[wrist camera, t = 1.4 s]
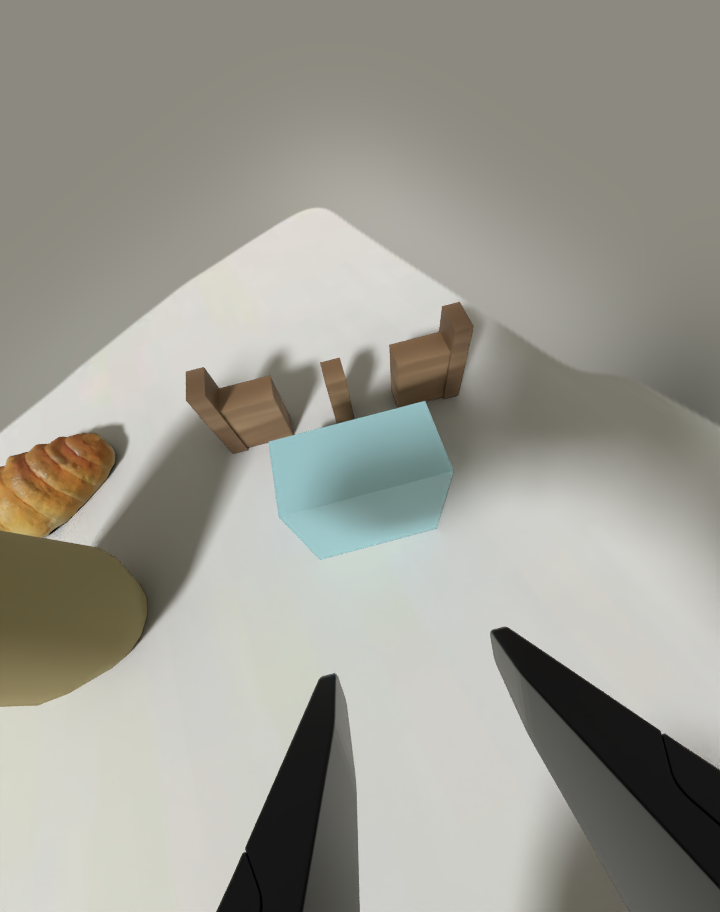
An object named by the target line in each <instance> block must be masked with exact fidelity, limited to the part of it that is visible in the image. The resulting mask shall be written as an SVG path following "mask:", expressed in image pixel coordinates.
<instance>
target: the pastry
mask: <svg viewBox="0 0 720 912" xmlns="http://www.w3.org/2000/svg"><path fill="white" fill-rule="evenodd" d="M114 464H115V452H114V450H113V449H112V447H111V446H110V445H109V444H108V443H107V442H106V441H105V440H103V438H102V437H101V436H100V435H98V434H97V433H89V434H87V433H82V434H76V435H73V436H69V437H59V438H57V439H55V440H54V441H52V442H51V443H50V444H38V445H36V446H34V447H33V448H32V449H31V450H30V451H29V452H25V453H22V454H18V455H14V456H10V457H9V458H8V459H7V462H6V465H5V466H2V467H0V531H6V532H11V533H17V534H23V535H29V536H34V537H40V538H44V537H46V536H48V535H49V533H50V532H51V531H53V530H54V529H55V528H57V527H59V526H60V525H63V524H65V523H66V522H67V521H68V520H69V519H70V518H71V517H72V516H73V515H74V514H76V513H77V511H78V509H79V508H80V507H82V506H83V505H84V504H85V503H86V502H87V501H88V500H89V498H90V497H91V496H92V495H93V494H94V493H95V492H96V491H97V490H98V489H99V487H100V486H101V485H102V484H103V483H104V482H105V480H106V479H107V477H108V475H109V472H110V470H111V468H112V467H113V465H114Z"/></svg>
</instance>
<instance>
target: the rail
mask: <svg viewBox="0 0 720 912" xmlns="http://www.w3.org/2000/svg"><path fill="white" fill-rule="evenodd" d="M473 328H474V326H473V325H472V323H471V321H470V319H469V318H468V316H467V314H466V312H465V310H464V309H463V307H462V305H461V303H460V302H457V303H453V304H449V305H446V306H442V312H441V320H440V328H439V332H438V333H434V334H430V335H426V336H422V337H418V338H414V339H410V340H407V341H403V342H399V343H395V344H391V345H389V347H390V371H391V390H392V393H393V396H394V399H395V401H396V404H397V407H398V408H400V407H404V406H407V405H411V404H415V403H419V402H423V401H425V402H426V401H430V400H433V399H437V398H441V397H443V398H444V399H446V398H449V397H453V396H457V395H458V394H459V390H460V385H461V381H462V376H463V372H464V367H465V363H466V359H467V354H468V350H469V345H470V341H471V336H472V332H473ZM320 364H321V368H322V372H323V376H324V380H325V384H326V387H327V391H328V394H329V398H330V401H331V405H332V408H333V411H334V415H335V418H336V422H337V424H338V423H342V422H346V421H350V420H354V416H353V411H352V406H351V402H350V397H349V392H348V387H347V383H346V378H345V375H344V371H343V368H342V364H341V361H340V358H336V359H332V360H329V361H325V362H321V363H320ZM186 401H187V402H188V403H189V405H190V406H191V407H192V408H193V409H194V410H195V411H196V412H197V414H198V415H199V416H200V417H201V418H202V419H203V420H204V422H205V423H206V424H207V425H208V426H209V427H210V428H211V429H212V431H213V432H214V433H215V434H216V435H217V436H218V437H219V439H220V440H221V441H222V442H223V443H224V444H225V445H226V446H227V448H228V449H229V450H230V451H231V452H232V453H233V454H235V453H238V452H242V451H246V450H248V448H249V447H253V446H257V445H261V444H265V443H268V442H269V441H273V440H277V439H281V438H285V437H288V436H292V435H293V432H292V426H291V420H290V415H289V413H288V411H287V409H286V407H285V405H284V403H283V401H282V399H281V397H280V395H279V393H278V391H277V389H276V387H275V385H274V383H273V381H272V379H271V377H270V376H266V377H262V378H258V379H255V380H251V381H247V382H243V383H239V384H235V385H231V386H227V387H223V388H218V386H217V385H216V383H215V382H214V380H213V379H212V378H211V376H210V375H209V373H208V372H207V371H206V369H205V368H204V367H202V368H199V369H195V370H191V371H187V372H186Z"/></svg>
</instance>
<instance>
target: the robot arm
mask: <svg viewBox="0 0 720 912" xmlns="http://www.w3.org/2000/svg"><path fill="white" fill-rule="evenodd" d="M490 637H491V643H492V649H493V655H494V659H495V662H496V665H497V667H498V669H499V672H500V674H501V676H502V678H503V680H504V683H505V685H506V687H507V689H508V691H509V694H510V696H511V698H512V700H513V702H514V705H515V707H516V709H517V711H518V713H519V716H520V718H521V720H522V722H523V724H524V726H525V728H526V731H527V733H528V735H529V737H530V738H531V740H532V742H533V744H534V746H535V748H536V749H537V751H538V753H539V755H540V756H541V758H542V760H543V762H544V763H545V765H546V767H547V769H548V770H549V772H550V774H551V776H552V777H553V779H554V781H555V783H556V784H557V786H558V788H559V790H560V791H561V793H562V795H563V797H564V798H565V800H566V802H567V803H568V805H569V807H570V809H571V810H572V812H573V814H574V816H575V817H576V819H577V821H578V823H579V824H580V826H581V828H582V830H583V831H584V833H585V835H586V837H587V838H588V840H589V842H590V844H591V845H592V847H593V849H594V851H595V852H596V854H597V856H598V858H599V859H600V861H601V863H602V865H603V866H604V868H605V870H606V872H607V873H608V875H609V877H610V879H611V880H612V882H613V884H614V886H615V887H616V889H617V891H618V893H619V894H620V896H621V898H622V900H623V901H624V903H625V905H626V906H627V908H628V910H629V912H720V770H719V769H718V768H716V767H715V766H713V765H712V764H710V763H708V762H707V761H705V760H704V759H702V758H701V757H699V756H698V755H696V754H695V753H693V752H692V751H690V750H689V749H687V748H686V747H684V746H683V745H681V744H680V743H678V742H677V741H675V740H674V739H672V738H671V737H669V736H668V735H666V734H661V731H660V730H659V729H657V728H656V727H654V726H653V725H651V724H650V723H648V722H647V721H645V720H644V719H642V718H641V717H640V716H638V715H637V714H635V713H634V712H632V711H631V710H629V709H628V708H626V707H625V706H623V705H622V704H620V703H619V702H617V701H616V700H614V699H613V698H611V697H610V696H609V695H607V694H606V693H604V692H603V691H601V690H600V689H598V688H597V687H595V686H594V685H592V684H591V683H589V682H588V681H586V680H585V679H583V678H582V677H580V676H579V675H578V674H576V673H575V672H573V671H572V670H570V669H569V668H567V667H566V666H564V665H563V664H561V663H560V662H558V661H557V660H555V659H554V658H552V657H551V656H549V655H548V654H547V653H545V652H544V651H542V650H541V649H539V648H538V647H536V646H535V645H533V644H532V643H530V642H529V641H527V640H526V639H524V638H523V637H521V636H520V635H518V634H517V633H516V632H514V631H513V630H511V629H510V628H508V627H501V628H497V629H494V630H492V631H491V632H490ZM245 850H246V852H244V853H243V854H242V856H241V858H240V860H239V863H238V865H237V867H236V870H235V872H234V874H233V876H232V879H231V881H230V883H229V885H228V887H227V890H226V892H225V894H224V896H223V898H222V900H221V903H220V905H219V907H218V909H217V911H216V912H360V903H359V865H358V827H357V793H356V778H355V768H354V760H353V751H352V743H351V735H350V727H349V719H348V711H347V704H346V699H345V696H344V693H343V690H342V687H341V684H340V681H339V678H338V676H337V674H335V673H333V674H330V675H326V676H322V677H321V678H320V679H319V680H318V683H317V685H316V687H315V689H314V692H313V694H312V696H311V699H310V701H309V703H308V705H307V708H306V710H305V712H304V715H303V717H302V719H301V721H300V724H299V726H298V728H297V731H296V733H295V735H294V737H293V740H292V742H291V744H290V747H289V749H288V751H287V753H286V756H285V758H284V760H283V763H282V765H281V767H280V769H279V772H278V774H277V776H276V779H275V781H274V783H273V785H272V788H271V790H270V792H269V795H268V797H267V799H266V801H265V804H264V806H263V808H262V811H261V813H260V815H259V817H258V820H257V822H256V824H255V827H254V829H253V831H252V833H251V836H250V838H249V840H248V843H247V845H246V847H245Z"/></svg>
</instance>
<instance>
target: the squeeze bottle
mask: <svg viewBox="0 0 720 912" xmlns="http://www.w3.org/2000/svg"><path fill="white" fill-rule="evenodd" d="M146 618H147V597H146V595H145V593H144V591H143V589H142V587H141V586H140V584H139V582H138V581H137V580H136V579H135V578H134V577H133V576H132V575H131V574H130V573H129V571H128V570H127V569H126V568H125V567H124V566H123V565H122V564H121V563H120V562H119V561H118V559H116V558H115V557H113V556H111V555H110V554H108V553H106V552H105V551H103V550H101V549H100V548H97V547H91V546H85V545H80V544H74V543H68V542H63V541H57V540H51V539H46V538H40V537H34V536H29V535H23V534H17V533H11V532H6V531H0V707H6V706H34V705H40V704H43V703H45V702H48V701H50V700H53V699H56V698H58V697H61V696H63V695H66V694H68V693H70V692H72V691H74V690H75V689H77V688H79V687H80V686H82V685H84V684H86V683H87V682H89V681H91V680H92V679H94V678H96V677H97V676H99V675H101V674H103V673H104V672H106V671H108V670H109V669H111V668H113V667H114V666H115V665H116V664H117V663H118V662H120V661H121V660H122V659H123V658H124V657H126V656H127V655H128V654H129V653H130V651H131V650H132V648H133V647H134V645H135V644H136V642H137V641H138V639H139V638H140V636H141V635H142V631H143V628H144V624H145V621H146Z"/></svg>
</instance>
